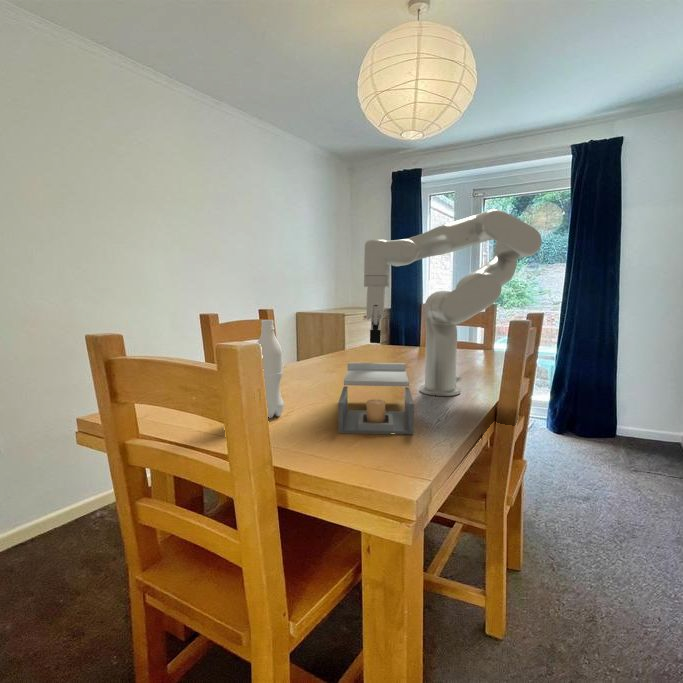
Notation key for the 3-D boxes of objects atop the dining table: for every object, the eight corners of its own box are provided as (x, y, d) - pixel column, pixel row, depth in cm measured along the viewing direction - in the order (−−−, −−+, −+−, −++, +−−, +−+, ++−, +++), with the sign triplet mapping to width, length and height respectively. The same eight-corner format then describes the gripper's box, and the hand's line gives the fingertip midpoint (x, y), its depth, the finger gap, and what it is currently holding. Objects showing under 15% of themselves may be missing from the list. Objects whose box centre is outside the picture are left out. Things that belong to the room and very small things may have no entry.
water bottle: (285, 410, 111) (283, 318, 107) (282, 419, 104) (279, 321, 100) (258, 411, 111) (255, 319, 107) (254, 419, 104) (250, 321, 100)
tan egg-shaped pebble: (374, 420, 100) (374, 398, 99) (388, 424, 97) (389, 401, 96) (362, 424, 97) (362, 402, 96) (377, 429, 94) (377, 406, 93)
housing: (343, 412, 109) (343, 386, 108) (408, 414, 107) (408, 387, 106) (338, 432, 94) (338, 402, 93) (413, 434, 93) (413, 404, 92)
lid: (347, 373, 123) (347, 362, 122) (405, 373, 121) (405, 363, 121) (343, 385, 108) (343, 373, 107) (408, 386, 106) (409, 374, 106)
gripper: (364, 282, 130) (363, 339, 133) (363, 281, 116) (361, 346, 118) (388, 282, 130) (386, 340, 132) (389, 282, 115) (388, 346, 117)
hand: (375, 342), depth 125 cm, fingers closed
